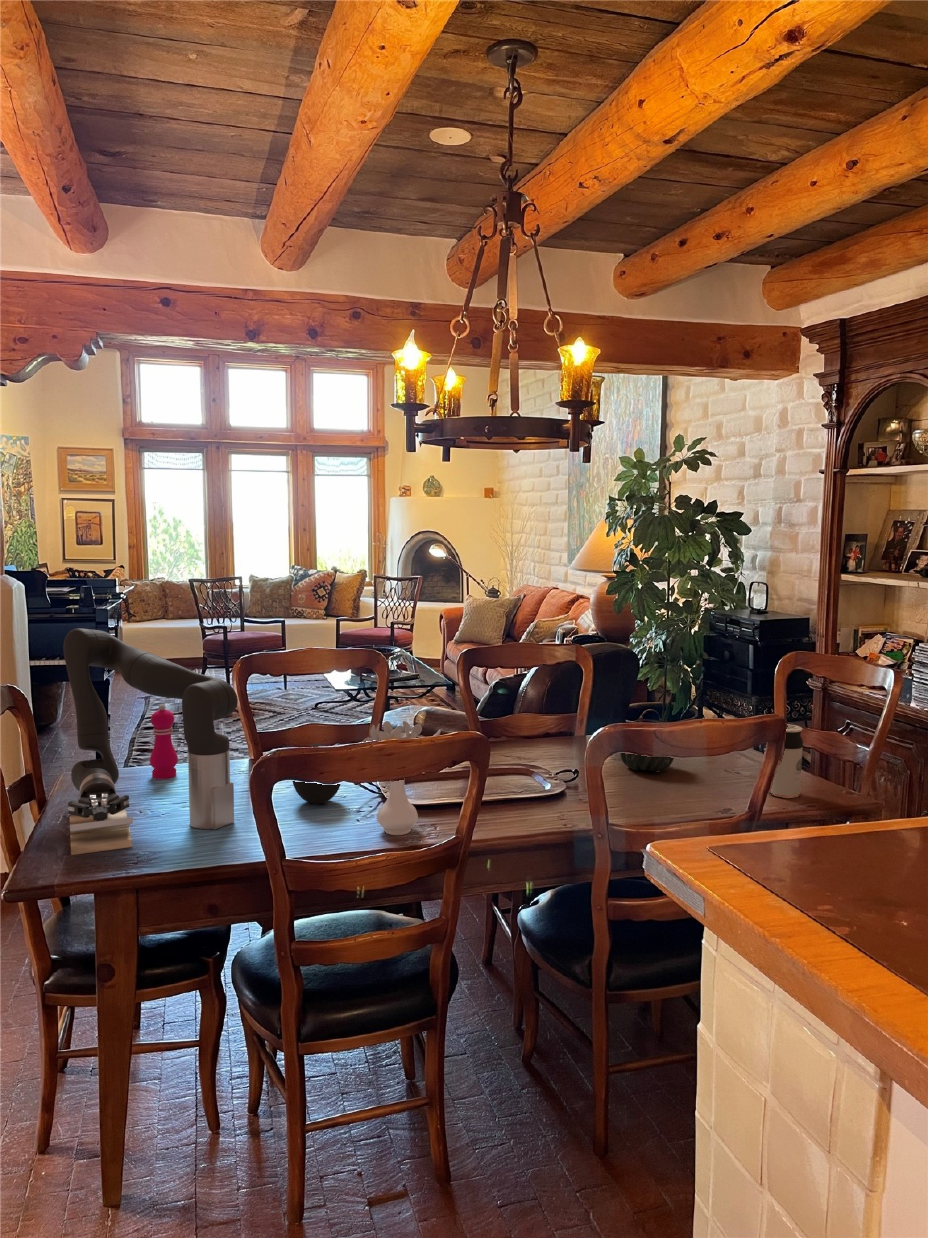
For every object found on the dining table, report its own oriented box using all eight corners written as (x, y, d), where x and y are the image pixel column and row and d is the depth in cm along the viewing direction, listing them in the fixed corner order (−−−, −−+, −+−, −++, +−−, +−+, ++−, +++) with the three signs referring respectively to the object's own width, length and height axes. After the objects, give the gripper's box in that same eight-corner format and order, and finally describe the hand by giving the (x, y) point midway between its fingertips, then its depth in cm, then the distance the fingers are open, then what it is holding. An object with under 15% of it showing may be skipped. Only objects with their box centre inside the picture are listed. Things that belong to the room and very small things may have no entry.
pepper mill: (162, 781, 235) (160, 708, 232) (144, 777, 238) (142, 705, 236) (183, 775, 241) (181, 703, 238) (166, 771, 244) (164, 700, 242)
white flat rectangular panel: (69, 827, 191) (69, 825, 178) (128, 819, 196) (132, 817, 183) (70, 832, 190) (70, 831, 178) (129, 825, 195) (132, 823, 183)
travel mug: (761, 793, 230) (764, 726, 228) (778, 788, 235) (782, 722, 233) (788, 801, 224) (792, 732, 222) (806, 795, 228) (809, 728, 226)
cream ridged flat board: (69, 824, 202) (69, 815, 201) (125, 817, 207) (125, 809, 206) (71, 855, 183) (70, 846, 183) (132, 846, 188) (131, 837, 188)
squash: (609, 743, 258) (626, 713, 248) (656, 742, 262) (674, 713, 251) (622, 785, 249) (640, 755, 238) (670, 783, 253) (690, 754, 242)
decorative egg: (352, 803, 219) (352, 744, 217) (313, 815, 210) (312, 753, 208) (321, 792, 227) (320, 735, 225) (281, 803, 218) (281, 744, 216)
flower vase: (448, 833, 198) (449, 725, 196) (371, 845, 190) (371, 733, 188) (425, 815, 210) (425, 713, 207) (351, 826, 202) (351, 720, 199)
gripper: (64, 780, 196) (65, 803, 180) (128, 774, 201) (133, 796, 185) (66, 813, 196) (66, 839, 181) (129, 805, 202) (134, 830, 186)
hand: (100, 817), depth 183 cm, fingers closed
